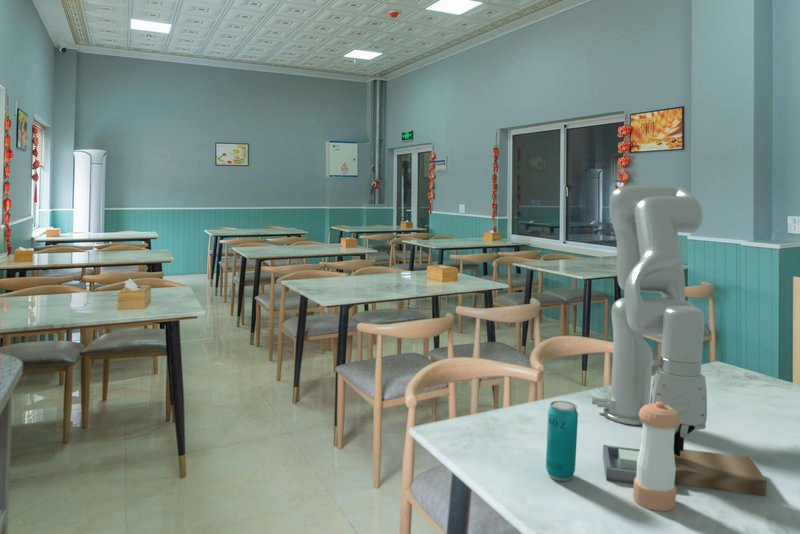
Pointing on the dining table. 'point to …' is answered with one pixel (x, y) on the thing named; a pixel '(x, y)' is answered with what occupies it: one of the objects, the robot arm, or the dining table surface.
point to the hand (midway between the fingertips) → (674, 452)
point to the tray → (617, 466)
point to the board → (719, 472)
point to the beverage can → (561, 440)
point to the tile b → (628, 459)
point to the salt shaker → (656, 458)
